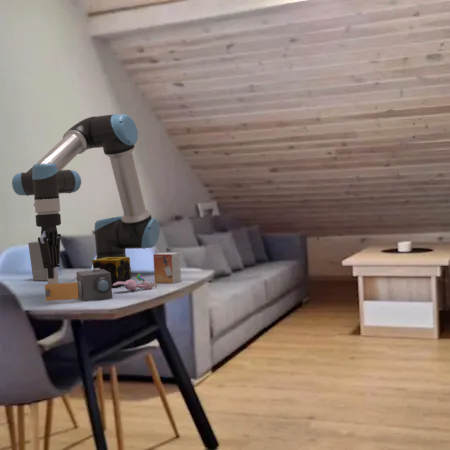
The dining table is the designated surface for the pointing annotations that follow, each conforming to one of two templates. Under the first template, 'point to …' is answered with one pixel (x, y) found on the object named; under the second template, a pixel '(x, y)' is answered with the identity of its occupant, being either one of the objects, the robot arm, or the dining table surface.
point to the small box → (167, 267)
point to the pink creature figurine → (133, 285)
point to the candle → (115, 268)
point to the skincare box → (37, 262)
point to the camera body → (95, 284)
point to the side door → (63, 291)
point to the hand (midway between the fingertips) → (53, 288)
